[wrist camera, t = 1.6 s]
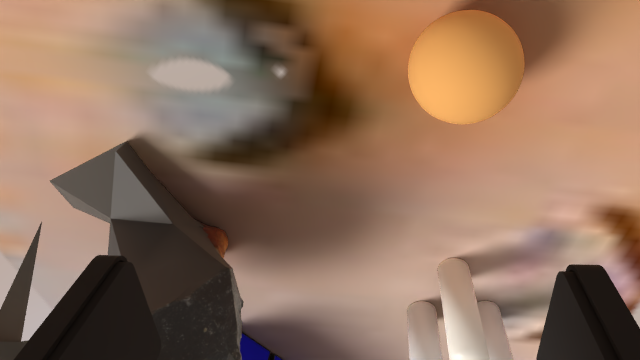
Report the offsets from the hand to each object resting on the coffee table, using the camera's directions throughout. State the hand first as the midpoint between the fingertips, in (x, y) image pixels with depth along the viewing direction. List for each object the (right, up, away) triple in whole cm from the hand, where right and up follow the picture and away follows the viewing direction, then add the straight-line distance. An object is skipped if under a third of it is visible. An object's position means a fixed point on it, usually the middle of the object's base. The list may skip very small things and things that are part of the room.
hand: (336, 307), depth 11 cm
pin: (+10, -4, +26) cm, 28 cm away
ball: (+7, +9, +15) cm, 19 cm away
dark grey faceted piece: (-12, -1, +27) cm, 29 cm away
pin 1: (+8, -8, +29) cm, 31 cm away
